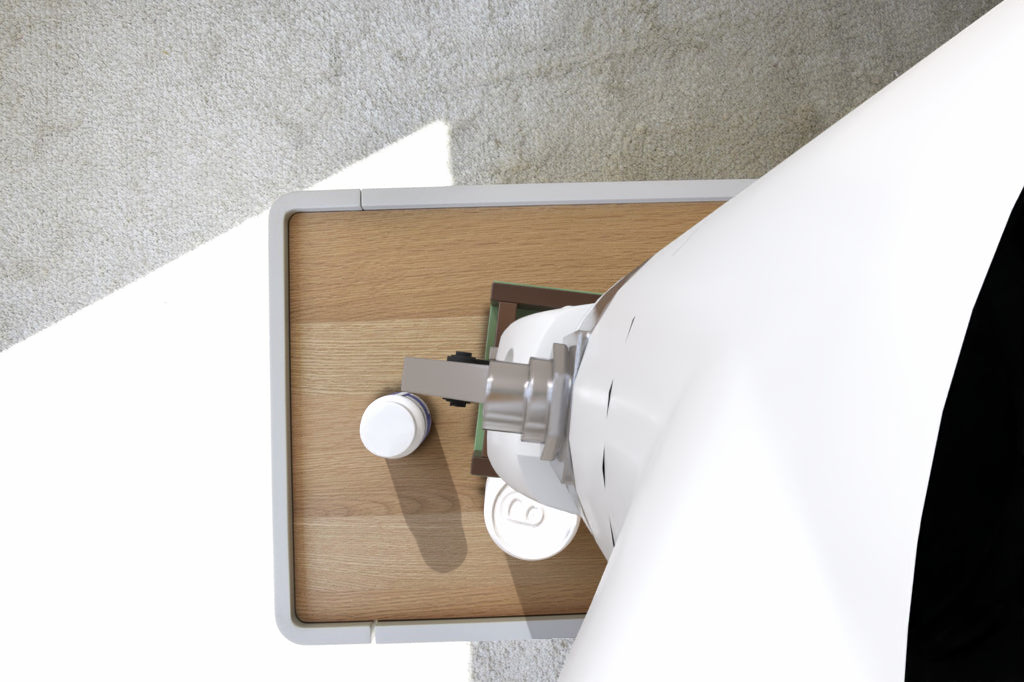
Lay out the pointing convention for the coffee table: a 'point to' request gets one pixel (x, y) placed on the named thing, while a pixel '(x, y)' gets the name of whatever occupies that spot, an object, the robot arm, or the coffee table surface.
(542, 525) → the beverage can
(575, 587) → the coffee table surface
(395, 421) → the pill bottle
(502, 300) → the cup holder
